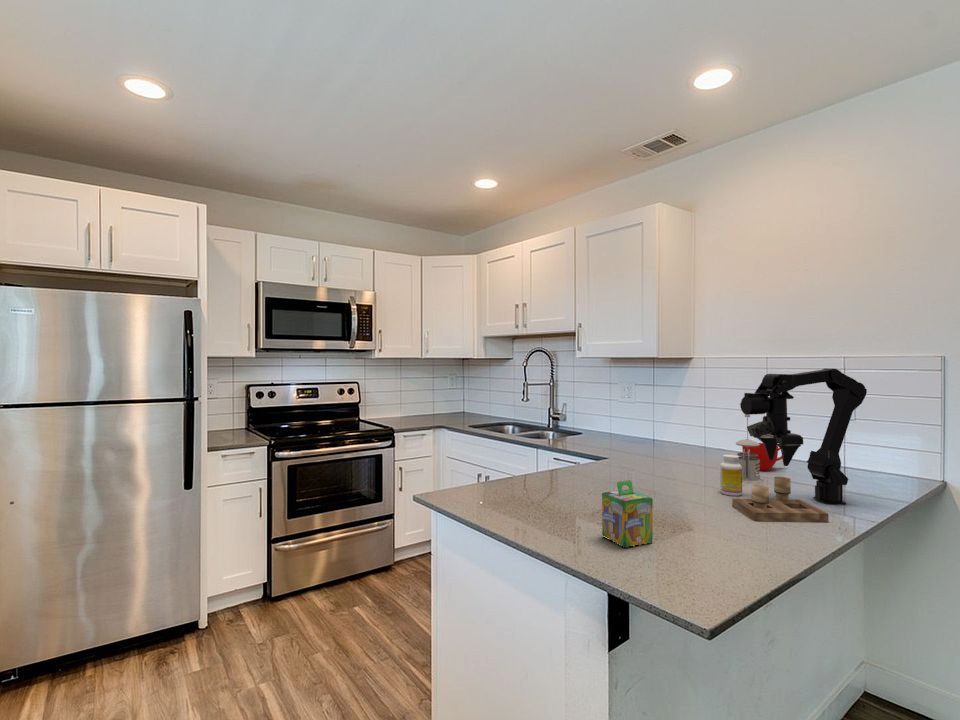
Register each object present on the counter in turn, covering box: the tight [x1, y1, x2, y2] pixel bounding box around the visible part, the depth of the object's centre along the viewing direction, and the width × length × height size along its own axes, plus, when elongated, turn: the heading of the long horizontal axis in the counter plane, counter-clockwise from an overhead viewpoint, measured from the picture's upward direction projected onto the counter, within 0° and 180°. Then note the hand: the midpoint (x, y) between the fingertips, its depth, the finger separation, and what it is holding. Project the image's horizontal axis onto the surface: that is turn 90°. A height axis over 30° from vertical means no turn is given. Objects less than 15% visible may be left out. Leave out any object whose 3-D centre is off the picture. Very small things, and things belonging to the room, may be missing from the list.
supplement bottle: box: [719, 454, 743, 497], centre depth 169 cm, size 7×7×13 cm
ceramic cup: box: [741, 442, 783, 472], centre depth 206 cm, size 13×17×10 cm
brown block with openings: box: [731, 484, 830, 523], centre depth 146 cm, size 20×14×8 cm
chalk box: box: [601, 479, 654, 548], centre depth 126 cm, size 9×9×15 cm
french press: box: [735, 414, 763, 484], centre depth 187 cm, size 10×12×25 cm
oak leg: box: [773, 476, 792, 499], centre depth 157 cm, size 4×4×8 cm
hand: (778, 462), depth 158 cm, fingers open, 9 cm apart
